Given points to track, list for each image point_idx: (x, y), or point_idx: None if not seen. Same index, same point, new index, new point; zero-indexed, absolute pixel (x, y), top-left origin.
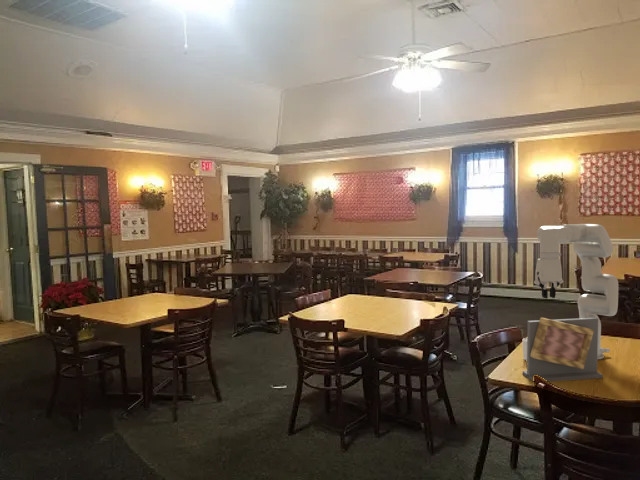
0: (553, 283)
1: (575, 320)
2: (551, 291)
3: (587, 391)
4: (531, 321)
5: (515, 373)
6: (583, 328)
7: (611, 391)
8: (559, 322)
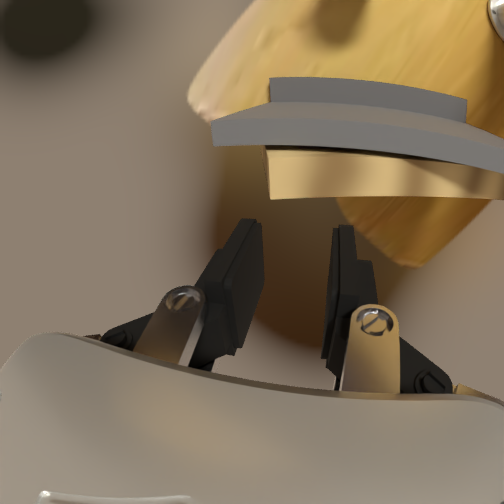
0: (381, 384)
1: (480, 167)
2: (328, 302)
3: (368, 214)
4: (227, 136)
5: (254, 69)
6: (473, 196)
7: (415, 226)
8: (368, 195)
